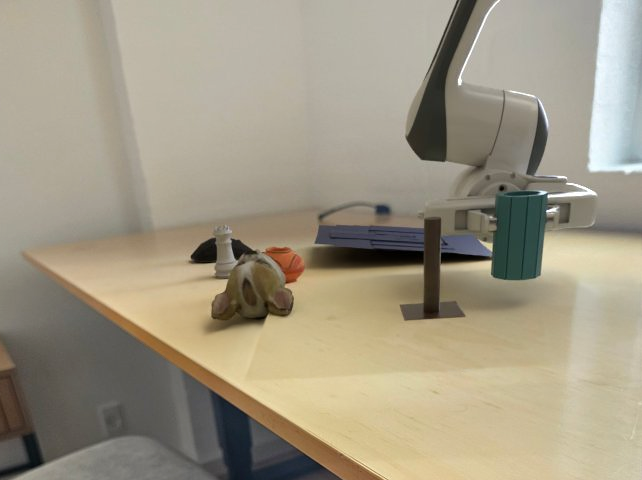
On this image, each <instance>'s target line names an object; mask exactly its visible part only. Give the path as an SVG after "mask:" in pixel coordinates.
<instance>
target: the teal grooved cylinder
mask: <svg viewBox="0 0 642 480" xmlns="http://www.w3.org/2000/svg"><path fill="white" fill-rule="evenodd" d="M547 202H548V192H545V191H537V190H520V191H508V192H501V193H498V194H496V197H495V215H496V216H497V218H498V222H497V224H496V225H497V231H496V232H493V243H492V246H491V247H492V249H491V250H492V251H491V252H492V256H491V265H490V275H491V276H492V278H494V279H497V280H502V281H527V280H534V279H537V278H539V277H540V276H541V275H542V264H543V255H544V254H543V253H544V245H545V244H544V243H545V234H546V233H545V232H546V231H545V223H546V213H547Z"/></svg>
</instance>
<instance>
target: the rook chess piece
mask: <svg viewBox="0 0 642 480" xmlns="http://www.w3.org/2000/svg"><path fill="white" fill-rule="evenodd" d="M213 230H214V231H213V232H212V235H213V236H214V238H216V242H215V244H216V245H217V261H215V265H214V266H213V267H214V268H213V270H214V271H215V272H214V274H213V275H214V276H215V277H216V278H217V279H228V278H229V275H230V274H231V271H232V270H233V268H234V267H235V266H236V265H237V263H238V261H237V259H235V258H234V255H233V252H232V248H231V242H232V241H231V240H230V238H231V236H232V234H233V231H232V230H231V228H230V225H227V224H225V225H224V224H223V226H221V225H217V226H213Z"/></svg>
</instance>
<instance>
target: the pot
mask: <svg viewBox="0 0 642 480" xmlns="http://www.w3.org/2000/svg"><path fill="white" fill-rule="evenodd" d="M263 252H264V254H265V255H267V256H269V257H271V259H272V260H273V261H274V262H275V263H276V264H277V265H278V266H279V268H280V270H281V271H282V273H284V275H285V280H286V281H285V284H286V283H296V282H297V280H298V278H300V276H302V274H303V273H304V272H305V269H306V262H305V261H304V259H303V258H302V257H301V256H300V255H299V254H297V253H295V252H294V251H292V248H290V247H287V246H284V247H278V246H271V247H267V248H265V251H263Z"/></svg>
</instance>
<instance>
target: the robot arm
mask: <svg viewBox="0 0 642 480" xmlns="http://www.w3.org/2000/svg"><path fill="white" fill-rule="evenodd" d="M500 1H501V0H456V1H455V4H454V6H453V8H452V10H451V14H450V16H449V18H448V21H447V23H446V26H445V28H444V31H443V33H442V36H441V38H440V40H439V43H438V45H437V47H436V49H435V50H436V51H435V53H434V55H433V57H432V60H431V63H430V65H429V68H428V70H427V72H426V74H425V76H424V78H423V80H422V82H421V85H420V86H419V88H418V90H417V92H416V93H415V95H414V97H413V99H412V102H411V103H410V106H409V108H408V112H407V115H406V121H405V136H404V137H405V140H406V142H407V144H408V145H409V147H410V149H411V150H412V151H413V153H414V154H415V155H416V156H417V157H418V158H419V159H420V160H421V161H426V162H437V163H445V162H448V163H454V164H458V165H465V166H466V167H465V168H464V169H462V170H461V171H459V173H458V174H457V175H456V176H455V177H454V179H453V180H452V183H451V186H450V188H449V193H448V197H441V198H433V199H429V200H427V201H426V202H425V204H424V209H418V210H417V213H416V215H417V218H418V219H419V220H424V218H427V217H441V236H451V235H466V234H472V235H473V236H474V237H476V238H477V239H478V240H479V241H480V242H483V243H487V244H493V232H496V231H497V225H496V224H497V222H498V218H497V216H496V215H495V197H496V194H498V193H501V192H508V191H520V190H537V191H545V192H548V202H547V213H546V223H545V232H552V231H559V230H561V229H573V228H575V229H576V228H588V227H592V226H593V225H594V224H595V223H596V217H597V212H598V205H599V203H598V202H599V198H598V197H599V196H598V194H597V192H595V191H593V190H591V189H589V188H587V187H585V186H581V185H579V184H575V183H569V181H568V178H567V177H566V176H563V175H541V174H540V175H538V174H536V173H537V171H538V169H539V167H540V166H541V162H542V160H543V157H544V154H545V151H546V147H547V142H548V138H549V120H548V118H547V114H546V111H545V108H544V106H543V103H542V102H541V100H540V99H539V97H538V96H536V95H532V94H527V93H524V92H519V91H515V90H514V91H513V90H507V89H498V88H494V87H489V86H488V87H487V86H482V85H477V84H472V83H467V82H465V81H464V80H462V78H461V77H462V74H463V72H464V70H465V67H466V65H467V63H468V60H469V58H470V55H471V54H472V51H473V49H474V47H475V44H476V43H477V40H478V37H479V35H480V33H481V31H482V29H483V26H484V24H485V22H486V19H487V17H488V15H489V14H490V12H491V11H492V9H493V8H494V7H495V6H496V4H497V3H499V2H500Z"/></svg>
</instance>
